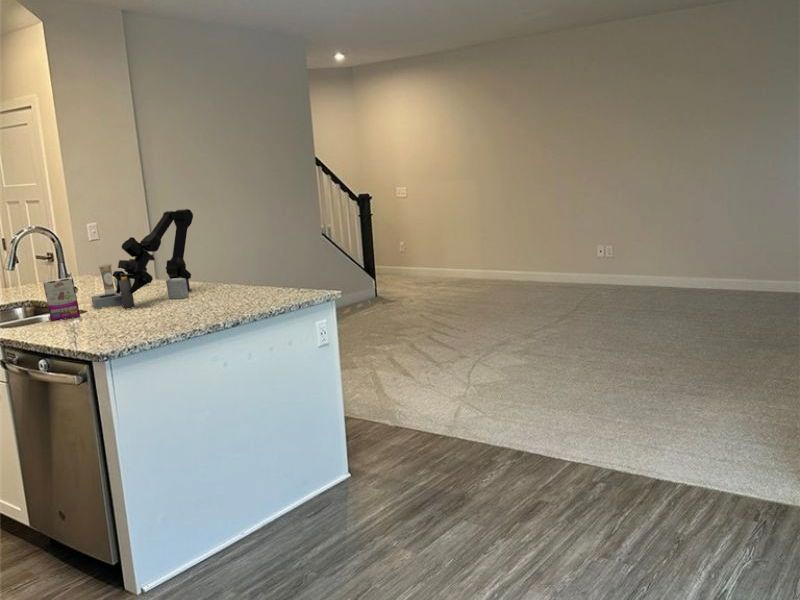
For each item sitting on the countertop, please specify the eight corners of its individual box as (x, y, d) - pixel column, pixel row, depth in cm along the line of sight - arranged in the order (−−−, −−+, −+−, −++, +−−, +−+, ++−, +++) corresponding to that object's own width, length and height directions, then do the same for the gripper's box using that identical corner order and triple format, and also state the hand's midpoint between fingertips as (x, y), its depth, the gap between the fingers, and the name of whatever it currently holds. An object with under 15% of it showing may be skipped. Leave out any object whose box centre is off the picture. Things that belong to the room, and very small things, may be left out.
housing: (120, 300, 317) (119, 292, 316) (125, 304, 307) (123, 295, 306) (92, 305, 311) (91, 296, 310) (96, 309, 301) (94, 300, 300)
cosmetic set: (109, 295, 334) (102, 257, 331) (98, 294, 340) (91, 256, 336) (153, 285, 354) (147, 249, 350) (142, 284, 360) (136, 248, 356)
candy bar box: (79, 314, 291) (72, 276, 288) (80, 316, 287) (73, 277, 284) (50, 319, 286) (42, 280, 283) (50, 321, 282) (43, 282, 279)
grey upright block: (136, 306, 300) (131, 275, 297) (131, 308, 295) (125, 277, 292) (127, 306, 300) (121, 276, 298) (121, 309, 296) (116, 278, 293)
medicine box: (189, 297, 311) (186, 278, 309) (182, 299, 307) (179, 280, 305) (175, 296, 314) (172, 278, 313) (168, 299, 310) (165, 280, 309)
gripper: (112, 252, 301) (95, 282, 294) (142, 252, 292) (126, 282, 285) (129, 267, 309) (113, 296, 302) (159, 267, 301) (144, 297, 293)
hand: (123, 293), depth 295 cm, fingers open, 8 cm apart
